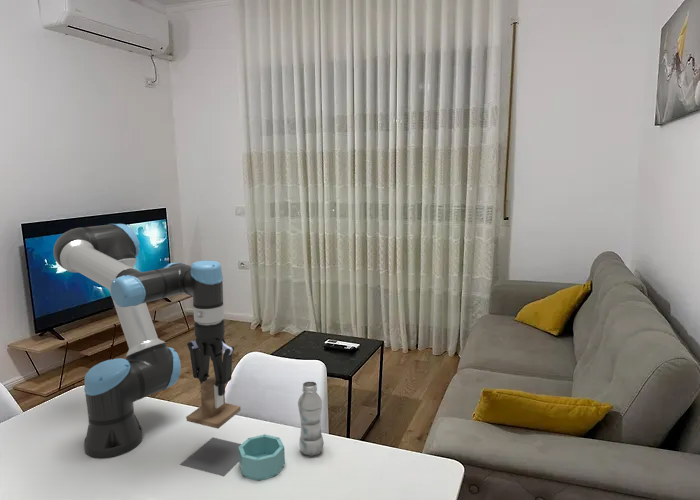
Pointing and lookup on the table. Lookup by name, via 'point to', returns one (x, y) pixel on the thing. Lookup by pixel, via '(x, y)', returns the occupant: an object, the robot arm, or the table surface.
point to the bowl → (261, 457)
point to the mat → (214, 457)
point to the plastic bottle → (310, 420)
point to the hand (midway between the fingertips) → (213, 404)
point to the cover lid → (212, 408)
